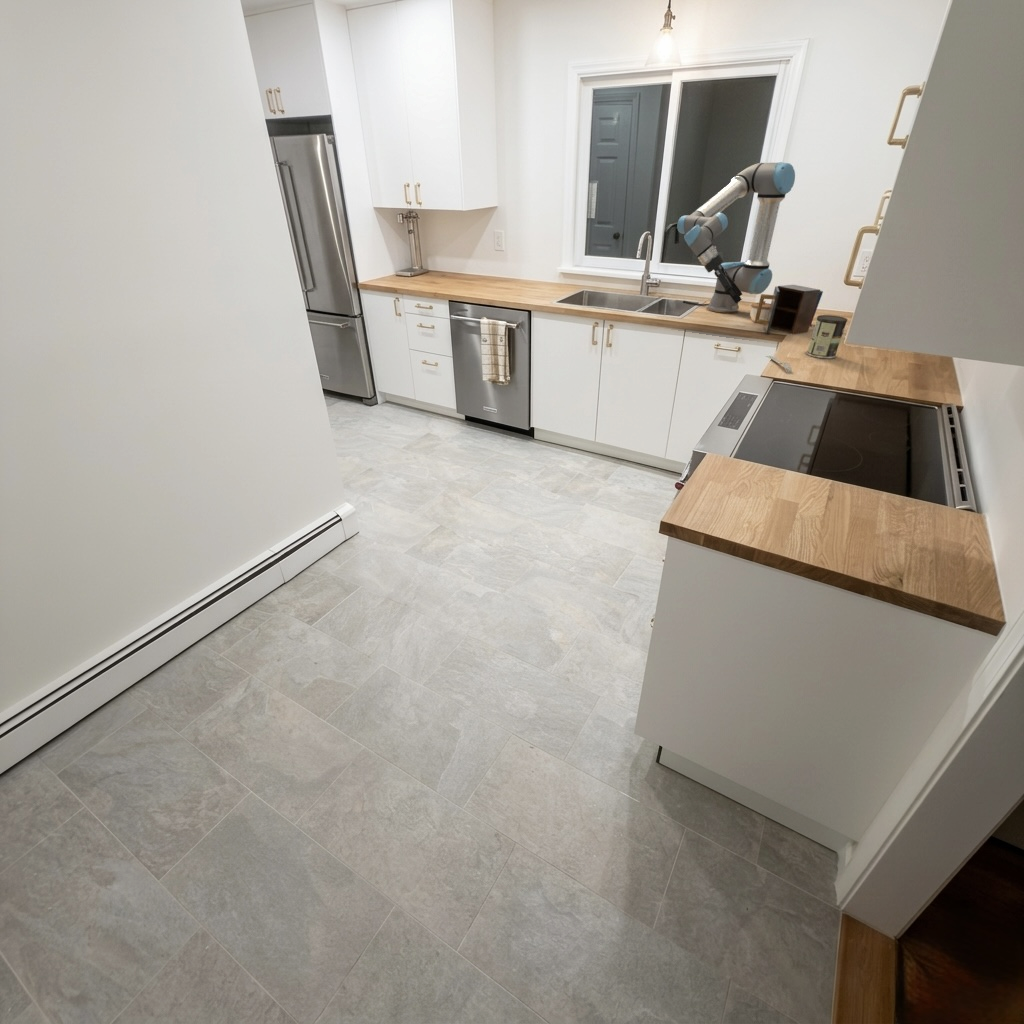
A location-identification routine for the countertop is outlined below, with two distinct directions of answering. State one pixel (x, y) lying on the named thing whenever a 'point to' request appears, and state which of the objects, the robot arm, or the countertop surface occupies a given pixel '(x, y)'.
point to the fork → (781, 363)
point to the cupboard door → (771, 310)
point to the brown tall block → (817, 304)
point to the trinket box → (763, 311)
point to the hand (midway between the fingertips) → (739, 298)
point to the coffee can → (826, 336)
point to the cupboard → (794, 308)
